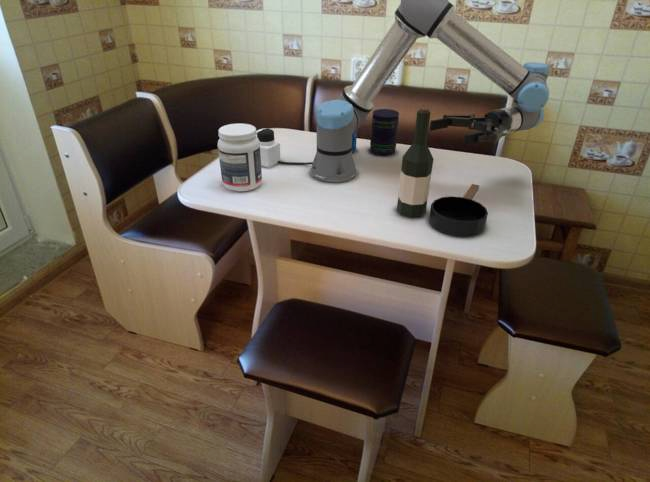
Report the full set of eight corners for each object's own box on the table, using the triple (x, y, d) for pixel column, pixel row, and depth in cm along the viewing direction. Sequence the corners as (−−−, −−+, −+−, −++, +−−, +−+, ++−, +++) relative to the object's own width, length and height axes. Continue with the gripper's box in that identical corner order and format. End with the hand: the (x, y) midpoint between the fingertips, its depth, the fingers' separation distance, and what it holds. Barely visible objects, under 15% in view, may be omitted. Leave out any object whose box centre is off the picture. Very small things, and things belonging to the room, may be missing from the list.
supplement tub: (245, 173, 154) (241, 119, 145) (270, 184, 147) (267, 129, 137) (214, 184, 146) (207, 128, 137) (238, 197, 139) (233, 139, 129)
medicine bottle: (281, 161, 163) (279, 129, 157) (268, 168, 158) (266, 134, 152) (265, 157, 166) (263, 125, 160) (252, 163, 161) (250, 130, 155)
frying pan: (476, 242, 118) (480, 227, 116) (421, 227, 125) (423, 213, 122) (497, 203, 138) (501, 189, 135) (449, 192, 144) (451, 178, 141)
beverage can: (350, 154, 170) (352, 123, 164) (335, 151, 173) (336, 120, 166) (358, 149, 175) (360, 118, 168) (344, 146, 177) (345, 116, 171)
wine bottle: (425, 219, 128) (441, 114, 112) (395, 216, 130) (407, 112, 114) (425, 206, 135) (440, 105, 119) (397, 203, 137) (408, 103, 121)
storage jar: (365, 153, 171) (368, 114, 163) (374, 145, 179) (377, 107, 171) (391, 158, 168) (395, 118, 160) (398, 149, 175) (402, 111, 167)
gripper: (532, 147, 127) (478, 160, 118) (467, 122, 145) (416, 132, 136) (539, 121, 123) (484, 132, 114) (472, 99, 141) (419, 107, 132)
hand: (447, 132), depth 125 cm, fingers open, 13 cm apart
